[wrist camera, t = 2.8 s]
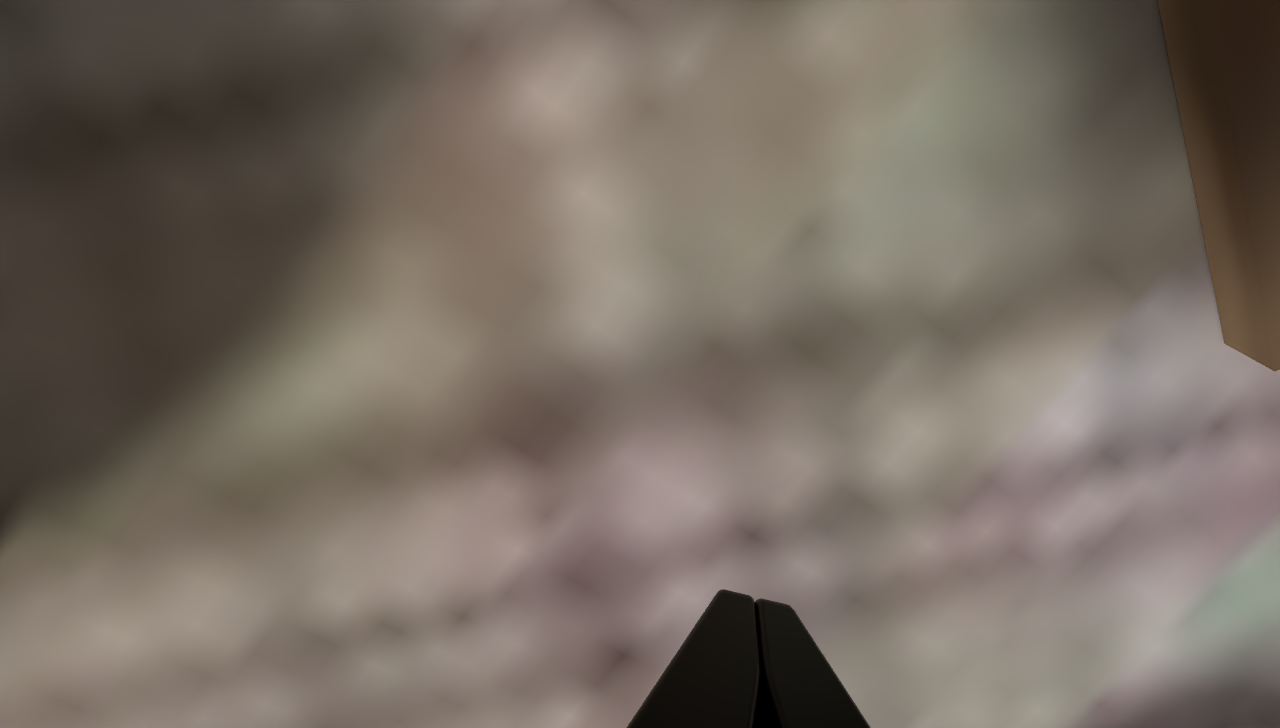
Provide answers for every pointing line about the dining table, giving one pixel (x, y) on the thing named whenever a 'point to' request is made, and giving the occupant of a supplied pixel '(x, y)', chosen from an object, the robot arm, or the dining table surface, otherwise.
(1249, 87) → the key console
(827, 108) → the dining table surface
